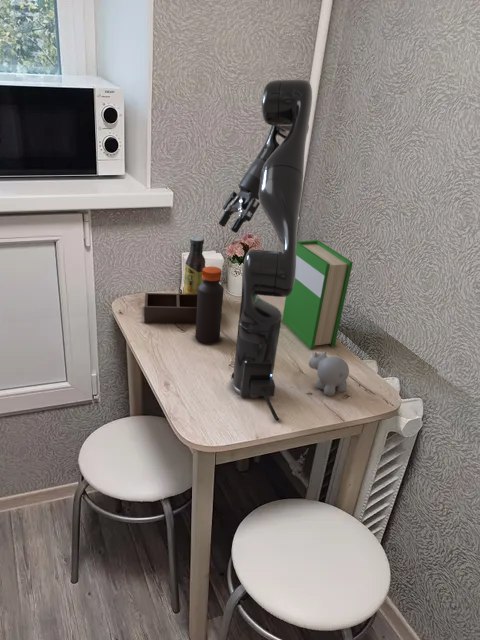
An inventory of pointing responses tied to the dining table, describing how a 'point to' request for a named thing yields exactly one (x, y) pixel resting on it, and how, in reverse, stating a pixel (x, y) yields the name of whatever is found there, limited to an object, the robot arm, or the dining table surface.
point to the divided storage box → (170, 308)
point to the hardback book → (317, 293)
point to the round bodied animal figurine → (330, 372)
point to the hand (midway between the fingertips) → (227, 228)
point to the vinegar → (209, 306)
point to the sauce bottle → (194, 266)
